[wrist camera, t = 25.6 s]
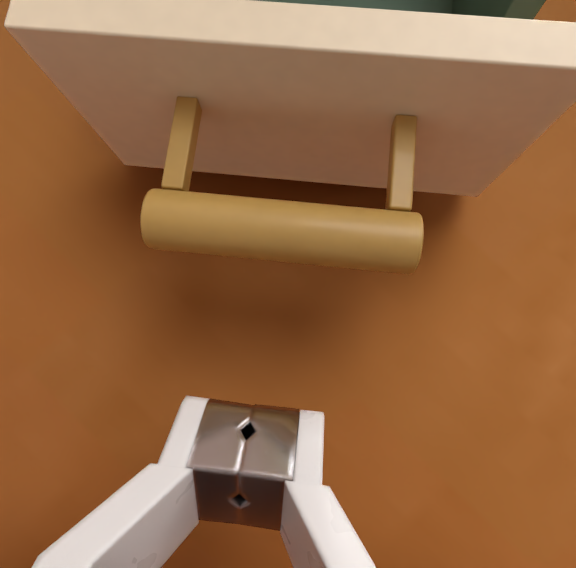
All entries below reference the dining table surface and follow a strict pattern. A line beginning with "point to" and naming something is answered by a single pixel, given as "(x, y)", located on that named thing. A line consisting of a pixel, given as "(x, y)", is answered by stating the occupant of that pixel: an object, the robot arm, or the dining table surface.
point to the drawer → (305, 109)
